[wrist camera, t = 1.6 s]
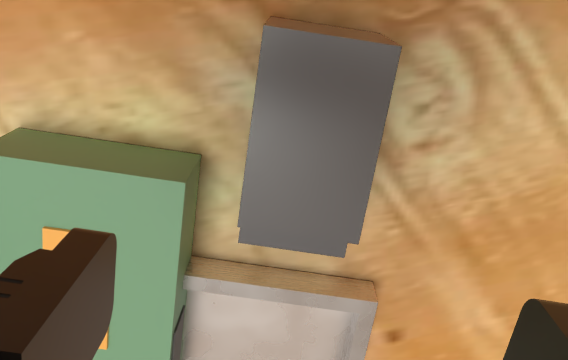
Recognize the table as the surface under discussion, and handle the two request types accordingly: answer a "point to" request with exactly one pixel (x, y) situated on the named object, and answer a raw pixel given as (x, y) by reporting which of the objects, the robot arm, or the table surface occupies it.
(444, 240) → the table surface
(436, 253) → the table surface
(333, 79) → the grey box
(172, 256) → the green rectangular block
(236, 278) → the grey metal tray
